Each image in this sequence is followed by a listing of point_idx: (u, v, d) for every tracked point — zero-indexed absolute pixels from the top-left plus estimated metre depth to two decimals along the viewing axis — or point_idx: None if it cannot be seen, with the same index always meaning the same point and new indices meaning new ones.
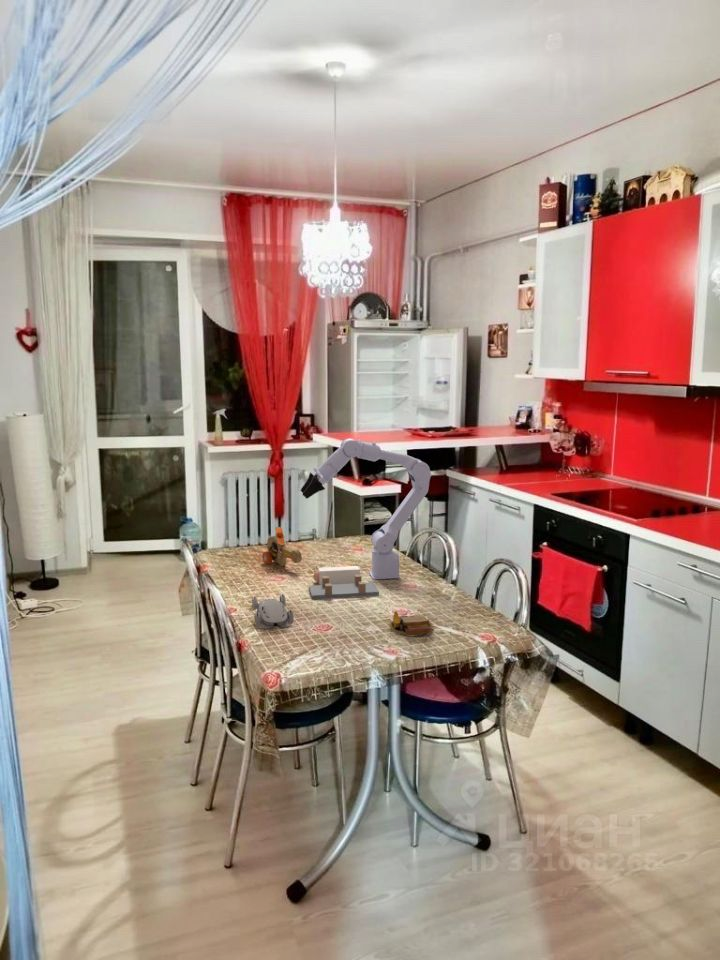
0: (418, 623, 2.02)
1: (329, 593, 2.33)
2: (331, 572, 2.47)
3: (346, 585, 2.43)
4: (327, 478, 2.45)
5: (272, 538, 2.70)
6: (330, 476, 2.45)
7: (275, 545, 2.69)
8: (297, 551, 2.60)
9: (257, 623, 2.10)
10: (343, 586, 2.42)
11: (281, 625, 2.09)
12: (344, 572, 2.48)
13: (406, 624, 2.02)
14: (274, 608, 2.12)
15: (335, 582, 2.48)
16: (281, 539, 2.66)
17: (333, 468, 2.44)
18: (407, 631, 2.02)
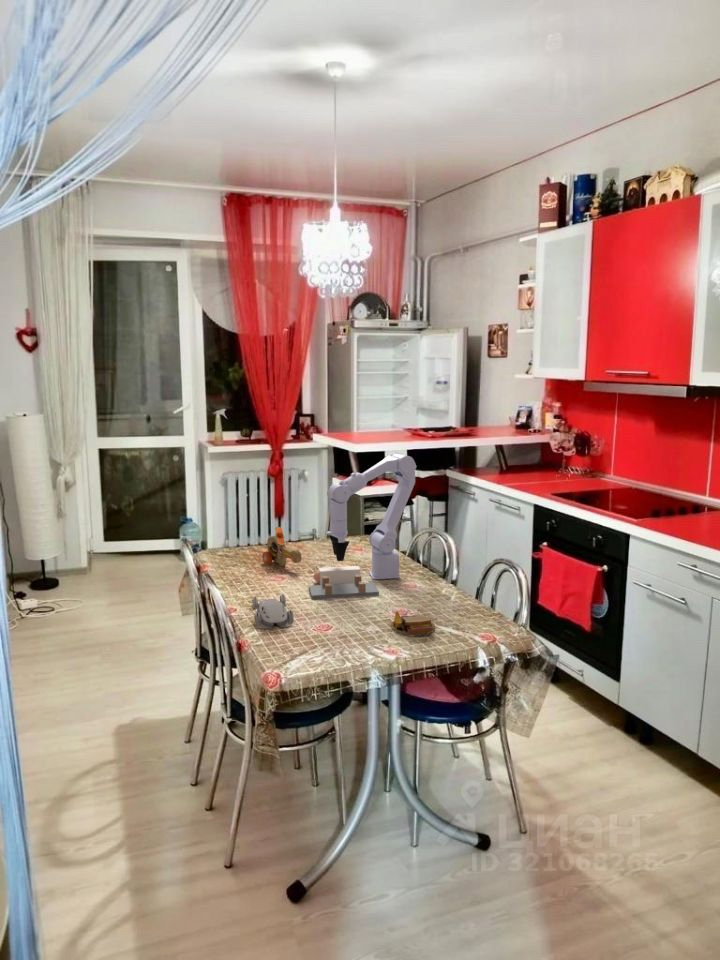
0: (420, 623, 2.02)
1: (329, 593, 2.33)
2: (331, 572, 2.47)
3: (346, 585, 2.43)
4: (343, 531, 2.45)
5: (272, 538, 2.70)
6: (344, 528, 2.45)
7: (275, 545, 2.69)
8: (297, 551, 2.59)
9: (257, 623, 2.10)
10: (343, 586, 2.42)
11: (281, 625, 2.09)
12: (344, 572, 2.48)
13: (408, 624, 2.02)
14: (274, 609, 2.12)
15: (335, 582, 2.48)
16: (281, 539, 2.65)
17: (340, 521, 2.44)
18: (409, 631, 2.02)
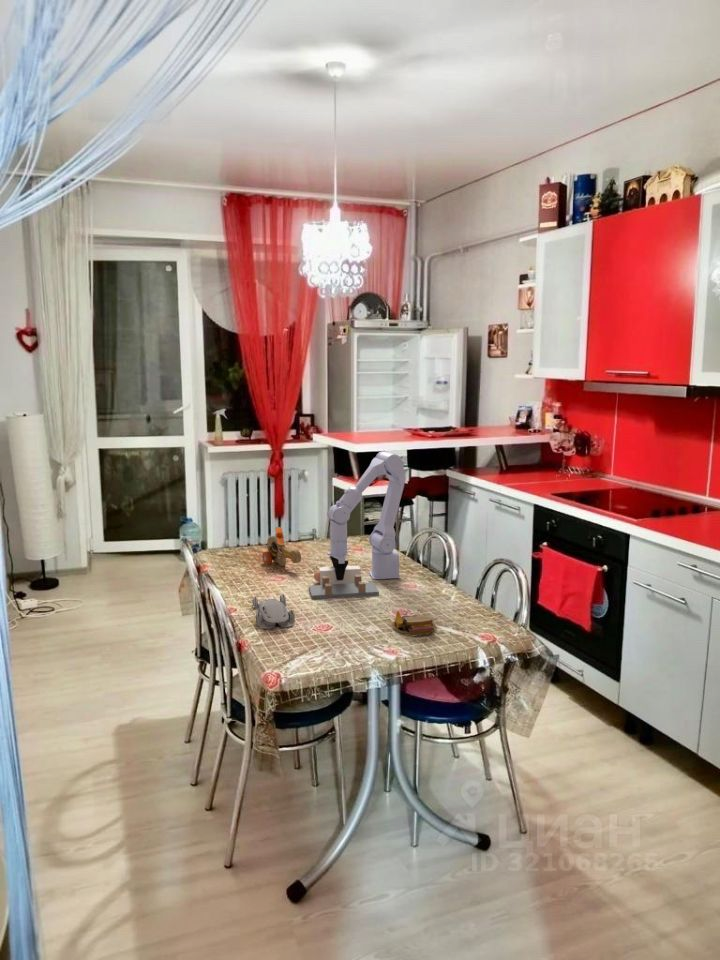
0: (422, 623, 2.02)
1: (329, 593, 2.33)
2: (332, 571, 2.47)
3: (346, 585, 2.43)
4: (344, 552, 2.46)
5: (272, 538, 2.70)
6: (344, 548, 2.46)
7: (275, 545, 2.69)
8: (296, 551, 2.59)
9: (258, 623, 2.10)
10: (343, 586, 2.42)
11: (282, 625, 2.09)
12: None
13: (410, 624, 2.02)
14: (275, 608, 2.12)
15: (336, 582, 2.48)
16: (281, 539, 2.65)
17: (341, 542, 2.45)
18: (411, 631, 2.02)
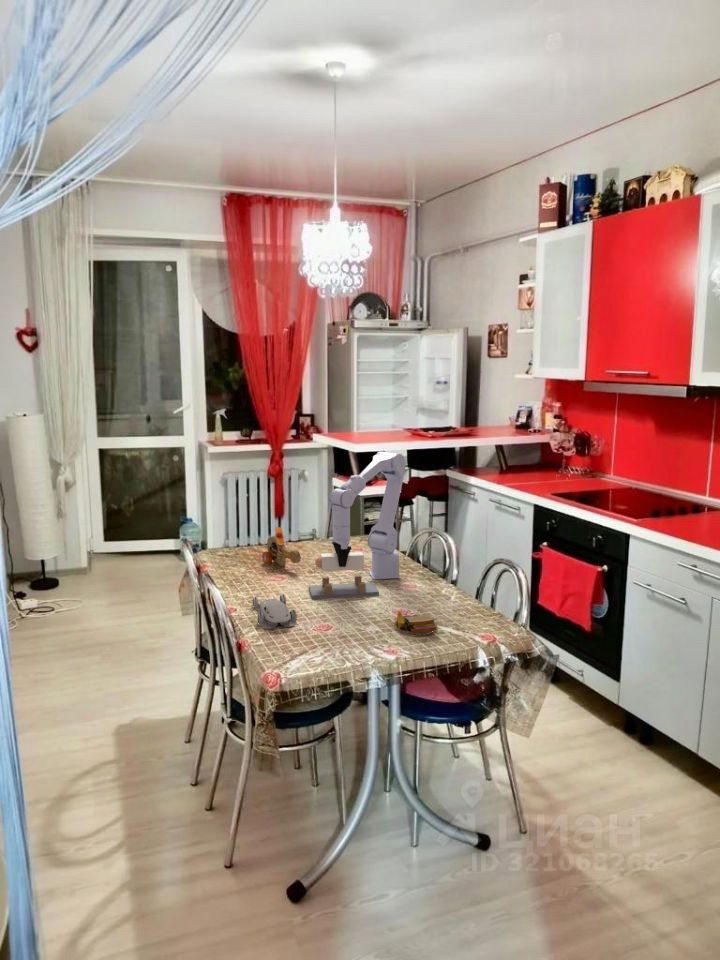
0: (424, 622, 2.02)
1: (329, 593, 2.33)
2: (334, 557, 2.39)
3: (346, 585, 2.43)
4: (346, 537, 2.38)
5: (272, 538, 2.70)
6: (347, 534, 2.38)
7: (275, 545, 2.69)
8: (296, 551, 2.59)
9: (260, 623, 2.10)
10: (343, 586, 2.42)
11: (285, 625, 2.10)
12: (347, 558, 2.39)
13: (412, 624, 2.02)
14: (277, 608, 2.12)
15: (338, 568, 2.40)
16: (281, 539, 2.65)
17: (343, 526, 2.36)
18: (413, 631, 2.02)
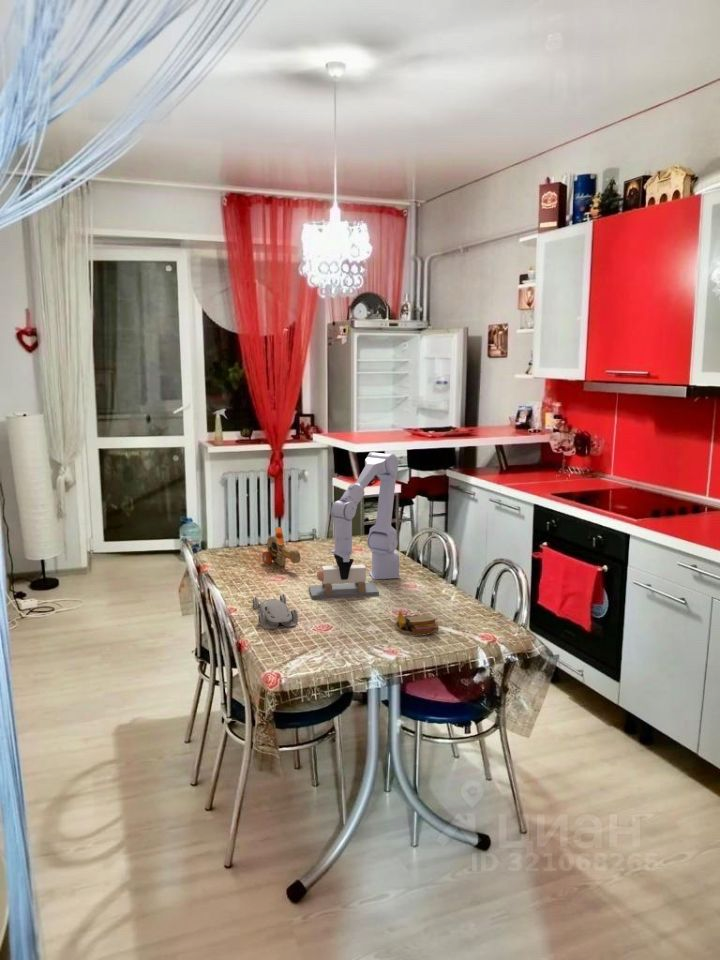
0: (425, 622, 2.02)
1: (329, 593, 2.33)
2: (335, 570, 2.36)
3: (346, 585, 2.43)
4: (348, 550, 2.35)
5: (272, 538, 2.70)
6: (349, 546, 2.35)
7: (275, 545, 2.69)
8: (296, 551, 2.59)
9: (262, 623, 2.10)
10: (343, 586, 2.42)
11: (286, 625, 2.10)
12: (349, 571, 2.37)
13: (413, 624, 2.02)
14: (278, 608, 2.12)
15: (340, 581, 2.37)
16: (280, 539, 2.65)
17: (345, 539, 2.34)
18: (414, 631, 2.02)
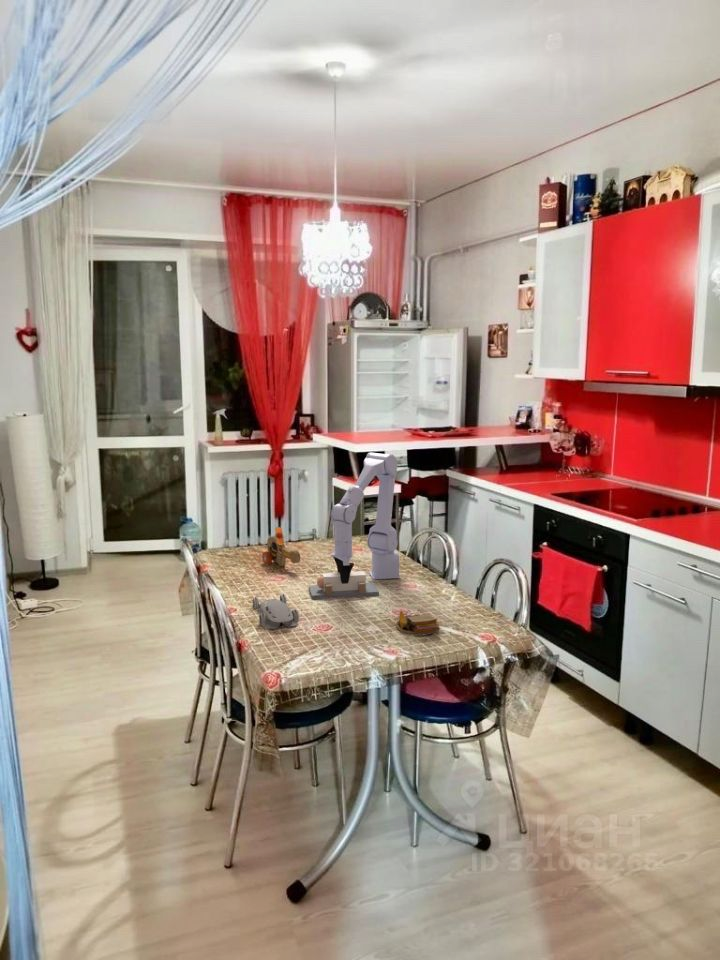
0: (426, 622, 2.02)
1: (329, 593, 2.33)
2: (336, 577, 2.36)
3: None
4: (348, 553, 2.35)
5: (272, 538, 2.70)
6: (349, 549, 2.35)
7: (275, 545, 2.69)
8: (296, 551, 2.59)
9: (263, 623, 2.10)
10: None
11: (287, 625, 2.10)
12: (349, 578, 2.37)
13: (414, 624, 2.02)
14: (279, 608, 2.12)
15: (340, 588, 2.37)
16: (280, 539, 2.65)
17: (345, 542, 2.34)
18: (416, 630, 2.02)
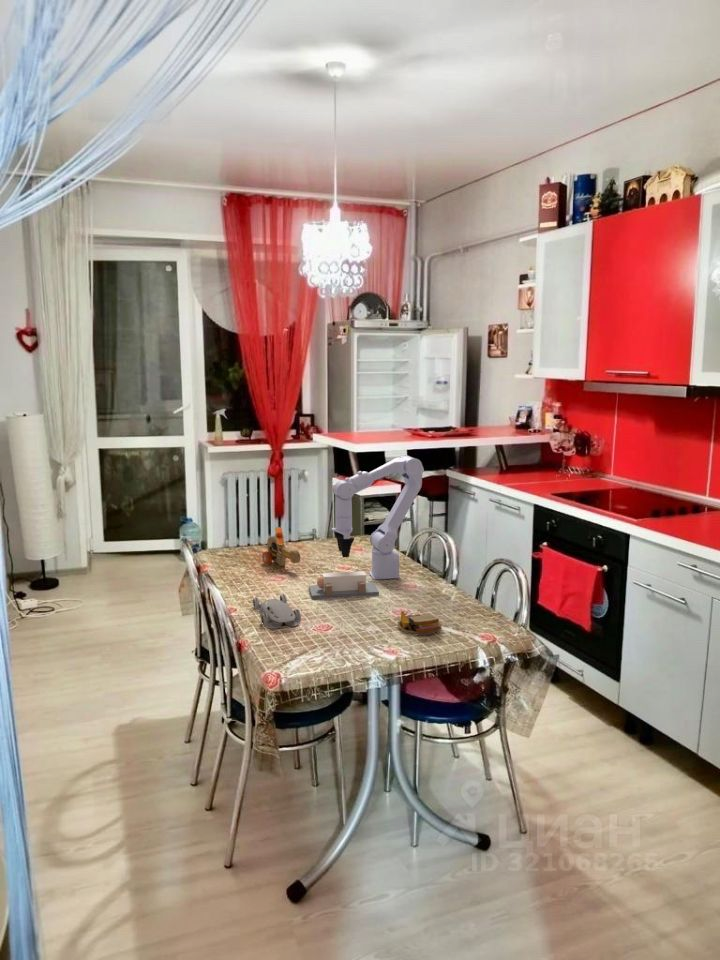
0: (429, 622, 2.02)
1: (329, 593, 2.33)
2: (336, 577, 2.36)
3: None
4: (348, 528, 2.47)
5: (272, 538, 2.70)
6: (349, 524, 2.47)
7: (275, 545, 2.69)
8: (296, 551, 2.59)
9: (265, 623, 2.10)
10: None
11: (290, 624, 2.10)
12: (349, 578, 2.37)
13: (417, 623, 2.02)
14: (281, 608, 2.12)
15: (340, 588, 2.37)
16: (280, 539, 2.65)
17: (345, 517, 2.46)
18: (418, 630, 2.02)
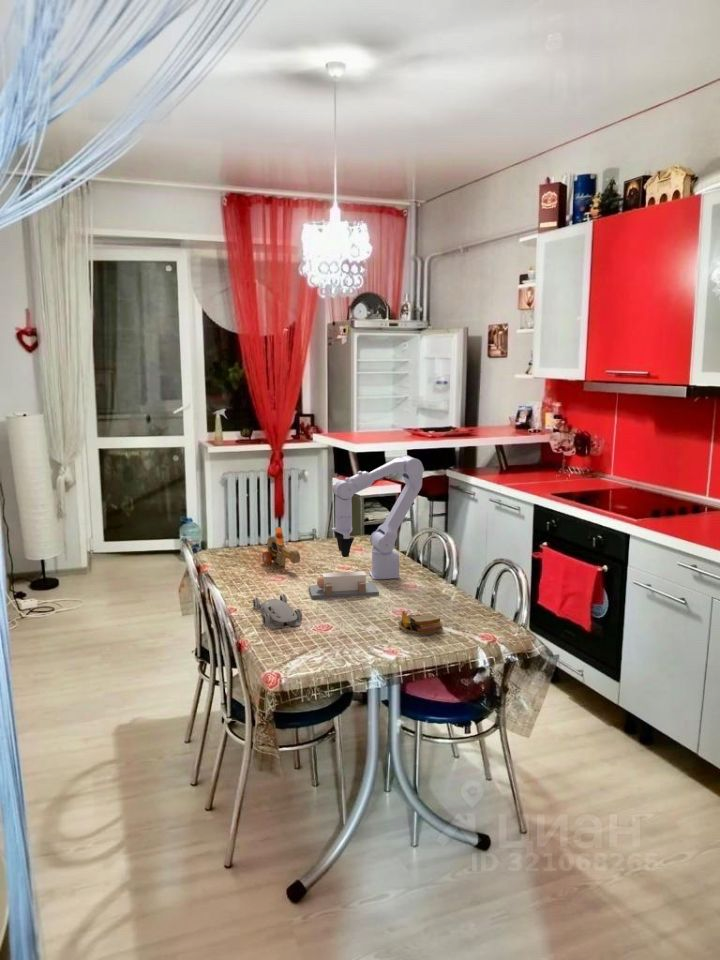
0: (430, 622, 2.03)
1: (329, 593, 2.33)
2: (336, 577, 2.36)
3: None
4: (348, 528, 2.47)
5: (272, 538, 2.70)
6: (349, 524, 2.47)
7: (275, 545, 2.69)
8: (296, 551, 2.59)
9: (267, 623, 2.10)
10: None
11: (291, 624, 2.10)
12: (349, 578, 2.37)
13: (418, 623, 2.02)
14: (283, 608, 2.12)
15: (340, 588, 2.37)
16: (280, 539, 2.65)
17: (345, 517, 2.46)
18: (420, 630, 2.02)
